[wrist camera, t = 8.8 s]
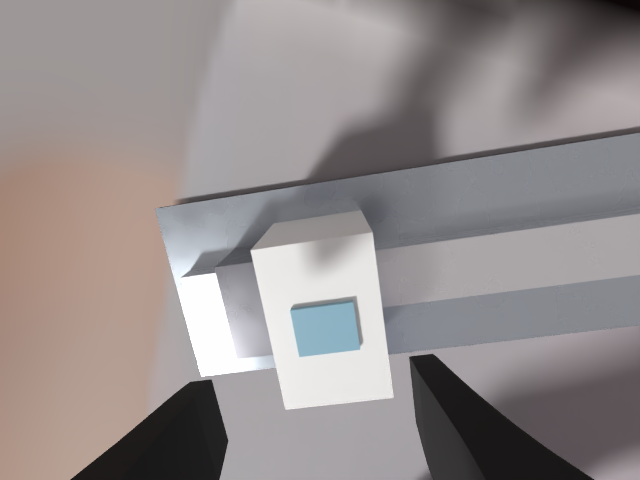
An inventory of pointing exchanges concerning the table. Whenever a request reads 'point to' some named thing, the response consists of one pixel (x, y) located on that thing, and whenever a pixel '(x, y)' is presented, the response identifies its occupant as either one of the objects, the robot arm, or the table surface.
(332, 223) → the block
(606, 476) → the table surface
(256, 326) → the rail
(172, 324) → the table surface
